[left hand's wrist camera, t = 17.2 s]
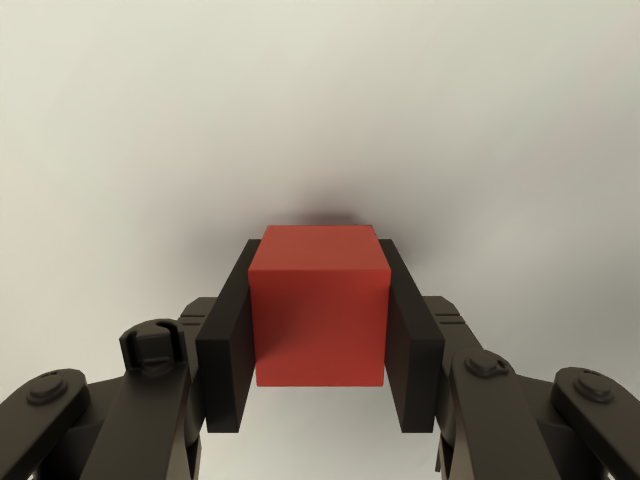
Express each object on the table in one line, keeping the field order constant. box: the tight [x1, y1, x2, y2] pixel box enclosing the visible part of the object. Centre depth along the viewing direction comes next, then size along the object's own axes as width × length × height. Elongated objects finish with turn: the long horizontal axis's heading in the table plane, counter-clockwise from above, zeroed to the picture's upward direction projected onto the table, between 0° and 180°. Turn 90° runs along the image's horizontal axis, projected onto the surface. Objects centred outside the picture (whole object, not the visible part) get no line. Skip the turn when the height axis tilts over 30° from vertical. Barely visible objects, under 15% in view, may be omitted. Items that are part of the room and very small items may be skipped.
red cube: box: [248, 225, 391, 387], centre depth 13 cm, size 4×4×4 cm
